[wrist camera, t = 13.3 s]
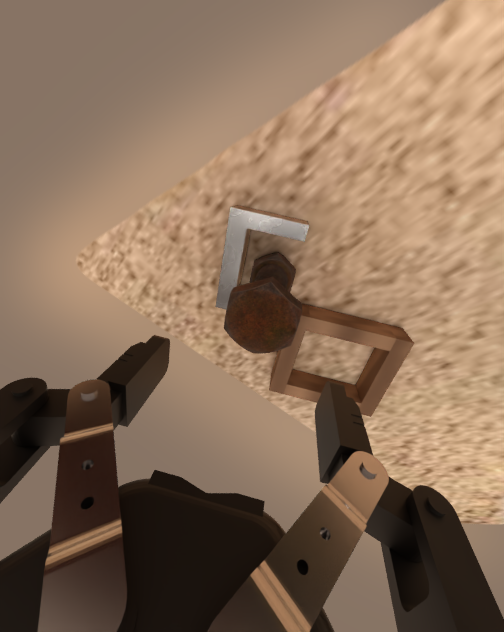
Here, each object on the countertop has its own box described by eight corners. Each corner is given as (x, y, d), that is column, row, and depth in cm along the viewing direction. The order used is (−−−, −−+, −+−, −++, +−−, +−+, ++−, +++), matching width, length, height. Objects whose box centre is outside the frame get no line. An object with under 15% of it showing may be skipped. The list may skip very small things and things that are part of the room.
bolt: (307, 267, 31) (317, 327, 17) (278, 295, 33) (266, 368, 19) (272, 232, 30) (253, 268, 16) (243, 263, 32) (206, 318, 18)
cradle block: (307, 221, 28) (309, 225, 25) (282, 310, 34) (281, 323, 30) (237, 205, 29) (230, 207, 26) (222, 296, 34) (215, 306, 31)
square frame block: (402, 328, 32) (414, 343, 29) (364, 397, 38) (370, 416, 35) (293, 301, 33) (292, 313, 30) (271, 373, 38) (269, 390, 35)
